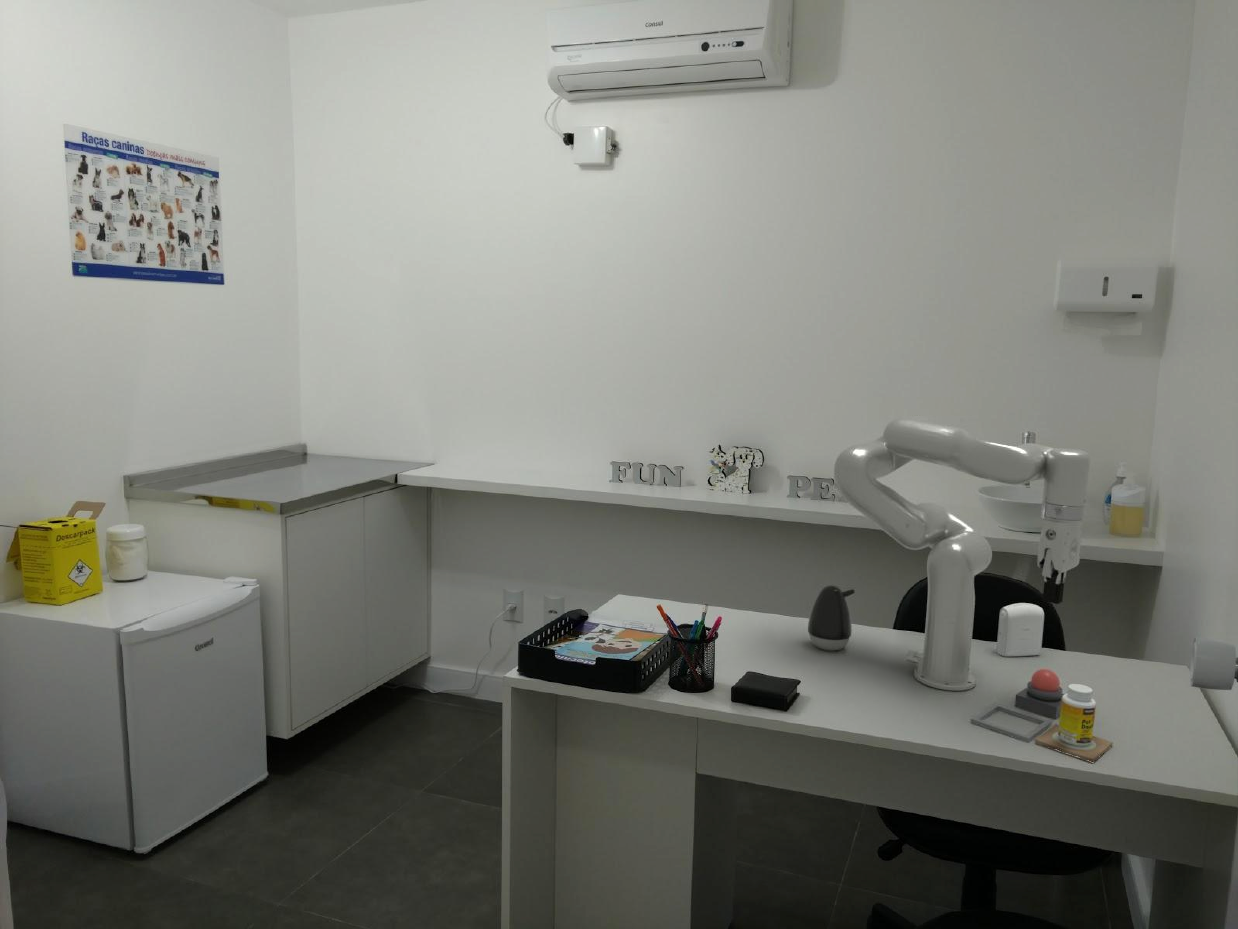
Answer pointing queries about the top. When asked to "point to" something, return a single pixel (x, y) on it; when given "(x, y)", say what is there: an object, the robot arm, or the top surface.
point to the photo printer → (1020, 630)
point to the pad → (1084, 752)
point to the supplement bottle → (1077, 715)
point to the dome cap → (1045, 686)
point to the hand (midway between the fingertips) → (1052, 601)
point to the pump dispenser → (830, 619)
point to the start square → (1028, 737)
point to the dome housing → (1038, 705)
